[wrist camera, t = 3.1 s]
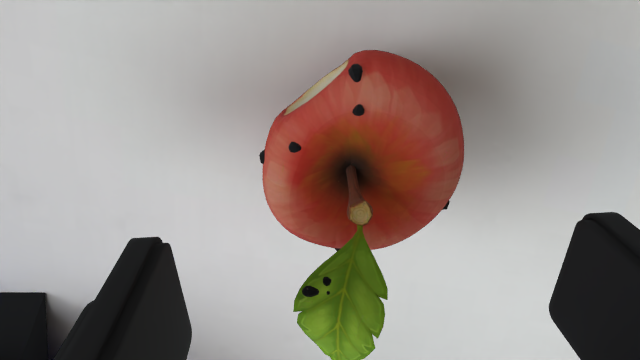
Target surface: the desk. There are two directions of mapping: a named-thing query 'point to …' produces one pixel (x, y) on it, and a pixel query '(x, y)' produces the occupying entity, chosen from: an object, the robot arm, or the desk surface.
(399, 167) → the apple
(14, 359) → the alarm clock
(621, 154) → the desk surface
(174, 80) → the desk surface
